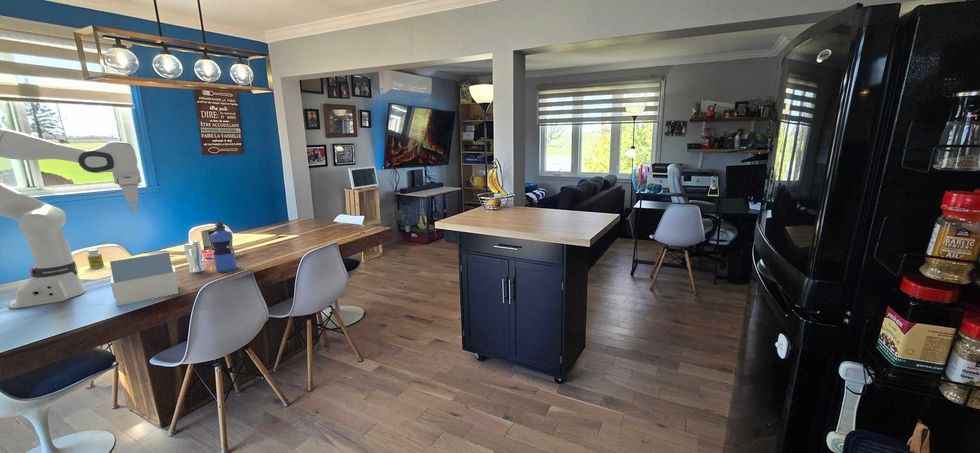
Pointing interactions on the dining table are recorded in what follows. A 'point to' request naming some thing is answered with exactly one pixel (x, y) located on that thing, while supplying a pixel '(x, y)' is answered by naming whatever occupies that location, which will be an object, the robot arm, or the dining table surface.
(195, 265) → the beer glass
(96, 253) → the supplement bottle
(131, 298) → the carton
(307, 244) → the dining table surface
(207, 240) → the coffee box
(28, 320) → the dining table surface
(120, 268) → the front flap
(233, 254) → the water bottle
